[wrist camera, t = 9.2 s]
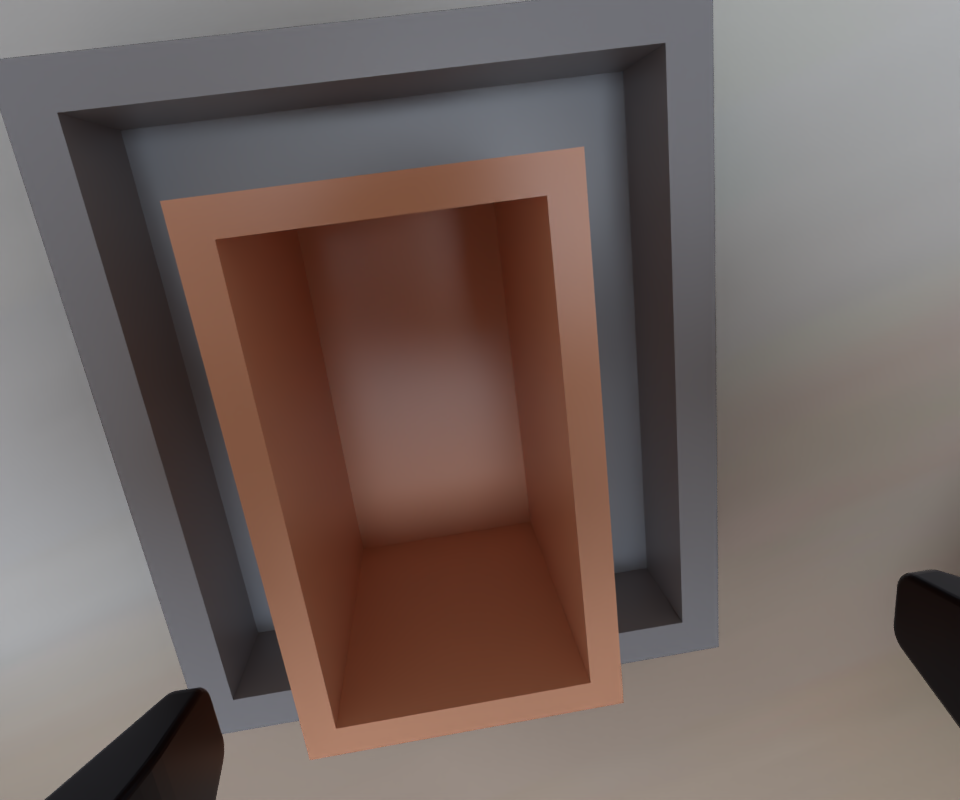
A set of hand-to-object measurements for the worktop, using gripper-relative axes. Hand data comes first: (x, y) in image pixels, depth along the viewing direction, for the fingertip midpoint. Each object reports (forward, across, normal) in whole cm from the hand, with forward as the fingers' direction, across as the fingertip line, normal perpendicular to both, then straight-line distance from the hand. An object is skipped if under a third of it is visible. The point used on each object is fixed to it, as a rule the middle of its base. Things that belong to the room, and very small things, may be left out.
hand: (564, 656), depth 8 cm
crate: (+11, +2, -1) cm, 11 cm away
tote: (+10, +2, -1) cm, 10 cm away
